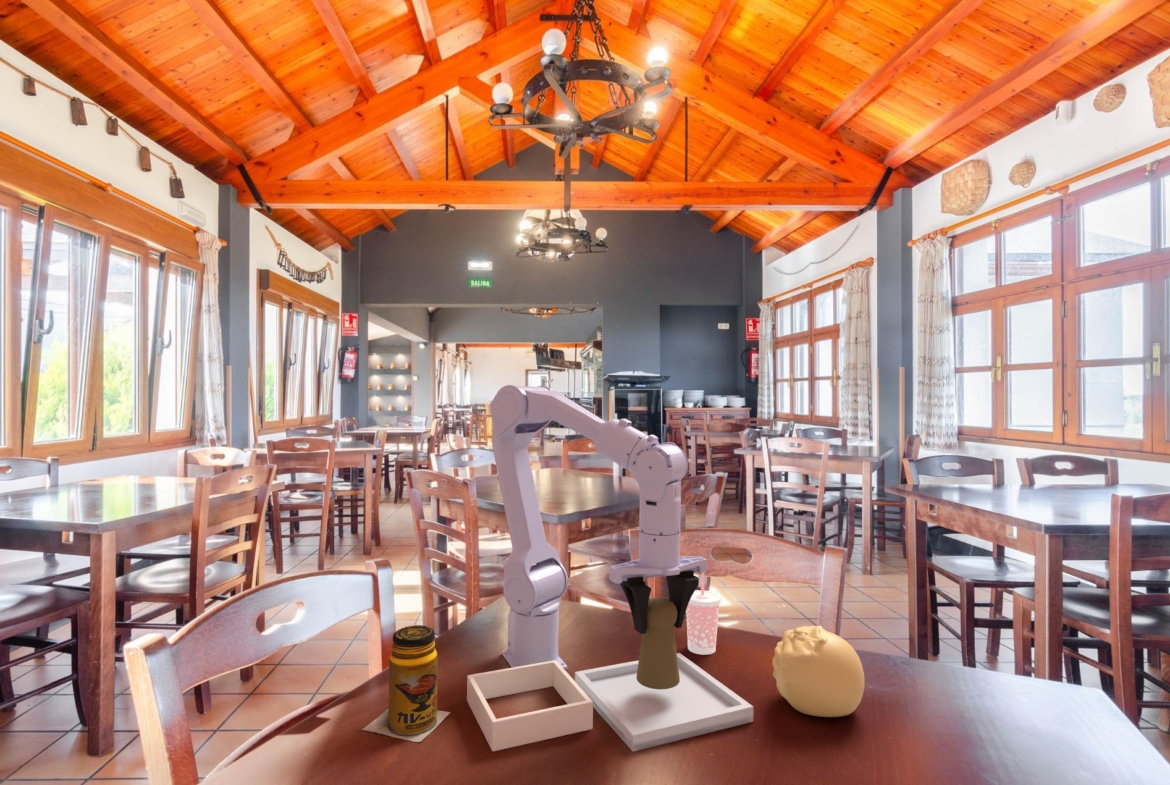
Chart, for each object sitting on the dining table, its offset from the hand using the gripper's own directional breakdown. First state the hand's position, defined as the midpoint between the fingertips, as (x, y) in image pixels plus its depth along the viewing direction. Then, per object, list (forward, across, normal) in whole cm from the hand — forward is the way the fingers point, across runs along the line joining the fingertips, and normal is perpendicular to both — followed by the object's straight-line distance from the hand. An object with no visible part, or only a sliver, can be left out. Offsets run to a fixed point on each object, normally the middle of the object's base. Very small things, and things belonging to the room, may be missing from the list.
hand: (658, 628), depth 87 cm
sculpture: (+11, +20, -9) cm, 25 cm away
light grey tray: (+10, 0, 0) cm, 10 cm away
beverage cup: (+11, +16, +13) cm, 23 cm away
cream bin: (+10, -18, +4) cm, 21 cm away
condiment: (+11, -33, +8) cm, 35 cm away
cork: (+7, 0, 0) cm, 7 cm away
